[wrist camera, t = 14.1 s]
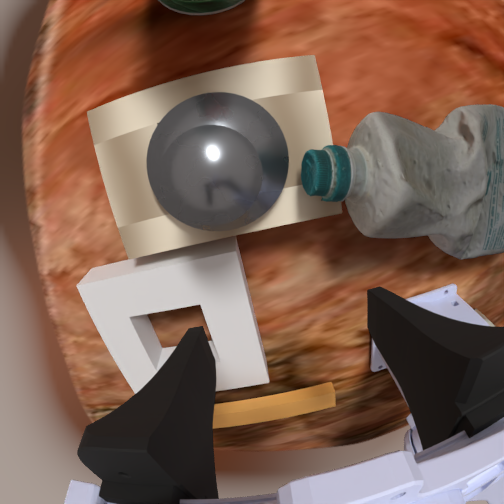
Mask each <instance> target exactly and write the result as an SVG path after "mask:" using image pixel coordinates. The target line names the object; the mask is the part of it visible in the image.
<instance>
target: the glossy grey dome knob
mask: <svg viewBox="0 0 504 504" xmlns="http://www.w3.org/2000/svg"><path fill="white" fill-rule="evenodd" d="M146 162H147V174H148V179H149V183H150V186H151V188H152V190H153V193H154V195H155V196H156V198H157V200H158V201H159V203H160V204H161V205H162V206H163V208H164V209H165V210H166V211H167V212H168V213H169V214H170V215H172V216H173V217H174V218H176V219H177V220H179V221H180V222H182V223H184V224H186V225H188V226H191V227H193V228H197V229H201V230H206V231H228V230H233V229H237V228H240V227H243V226H246V225H248V224H250V223H252V222H253V221H255V220H257V219H258V218H260V217H261V216H262V215H263V214H265V213H266V212H267V211H268V210H269V209H270V208H271V207H272V205H273V204H274V203H275V202H276V200H277V199H278V197H279V196H280V194H281V192H282V190H283V188H284V185H285V182H286V179H287V174H288V168H289V154H288V147H287V143H286V140H285V137H284V134H283V132H282V130H281V128H280V126H279V125H278V123H277V122H276V120H275V119H274V118H273V117H272V116H271V114H270V113H269V112H268V111H267V110H265V109H264V108H263V107H262V106H261V105H259V104H257V103H256V102H254V101H253V100H251V99H248V98H246V97H244V96H241V95H237V94H233V93H226V92H211V93H204V94H200V95H196V96H194V97H191V98H189V99H186V100H185V101H183V102H181V103H179V104H178V105H176V106H175V107H174V108H172V109H171V110H170V111H169V112H168V113H167V114H166V115H165V116H164V117H163V118H162V120H161V121H160V122H159V124H158V125H157V127H156V129H155V130H154V132H153V135H152V137H151V139H150V142H149V146H148V150H147V159H146Z"/></svg>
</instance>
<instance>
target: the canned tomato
mask: <svg viewBox="0 0 504 504" xmlns="http://www.w3.org/2000/svg"><path fill="white" fill-rule="evenodd" d="M158 1H159V2H160V3H161V4H162V5H164V6H165V7H167V8H169V9H170V10H173V11H175V12H178V13H182V14H187V15H210V14H216V13H220V12H224V11H226V10H229V9H232V8H234V7H236V6H237V5H239V4H241V3H243V2H244V1H245V0H158Z"/></svg>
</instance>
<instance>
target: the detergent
mask: <svg viewBox="0 0 504 504" xmlns="http://www.w3.org/2000/svg"><path fill="white" fill-rule="evenodd" d="M301 180H302V186H303V188H304V190H305V192H306V193H307V195H309V196H322V199H321V201H326V202H338V201H344V200H345V203H346V206H347V209H348V213H349V215H350V216H351V218H352V221H353V223H354V224H355V226H356V227H357V228H358V230H359V231H360V232H361V233H362V234H364V235H365V236H367V237H372V238H410V237H419V236H429V238H430V240H431V241H432V242H433V243H434V245H435V246H437V247H438V248H440V249H441V250H442V251H444V252H445V253H447V254H449V255H451V256H454V257H456V258H458V259H468V258H476V257H478V256H484V255H492V254H498V253H503V252H504V107H500V106H497V105H491V104H489V105H468V106H462V107H459V108H456V109H455V110H453V111H452V112H451V113H450V114H448V115H447V116H446V118H445V119H444V121H443V123H442V124H441V125H440V126H439V127H438V128H437V129H436V130H435V131H433V130H431V129H429V128H427V127H424V126H422V125H419V124H417V123H415V122H412V121H410V120H408V119H405V118H402V117H400V116H396V115H392V114H389V113H384V112H374V113H370V114H368V115H367V116H366V117H365V118H364V119H363V120H362V121H361V122H360V124H358V125H357V127H356V128H355V130H354V132H353V134H352V135H351V137H350V140H349V143H348V146H347V148H346V147H344V146H337V145H327V146H325V147H324V148H323V149H322V150H314V149H310V150H308V151H306V153H305V154H304V157H303V160H302V163H301Z"/></svg>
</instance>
